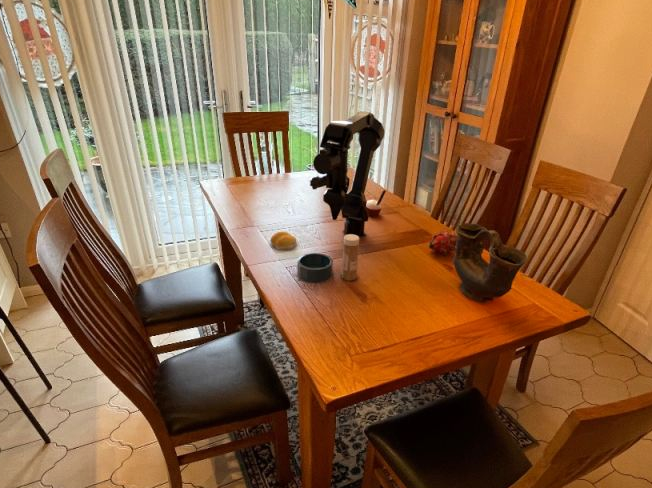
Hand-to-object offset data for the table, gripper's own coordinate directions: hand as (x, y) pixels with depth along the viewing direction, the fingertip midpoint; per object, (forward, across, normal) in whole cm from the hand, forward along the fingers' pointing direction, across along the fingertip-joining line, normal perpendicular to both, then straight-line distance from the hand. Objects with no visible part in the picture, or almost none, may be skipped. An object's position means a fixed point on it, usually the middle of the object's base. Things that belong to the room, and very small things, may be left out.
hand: (336, 214), depth 137 cm
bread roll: (+13, -1, -18) cm, 22 cm away
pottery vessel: (+13, +19, +45) cm, 50 cm away
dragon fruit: (+13, -5, +36) cm, 39 cm away
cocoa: (+13, -34, +12) cm, 39 cm away
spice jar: (+13, +17, +6) cm, 23 cm away
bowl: (+13, +17, -4) cm, 22 cm away
